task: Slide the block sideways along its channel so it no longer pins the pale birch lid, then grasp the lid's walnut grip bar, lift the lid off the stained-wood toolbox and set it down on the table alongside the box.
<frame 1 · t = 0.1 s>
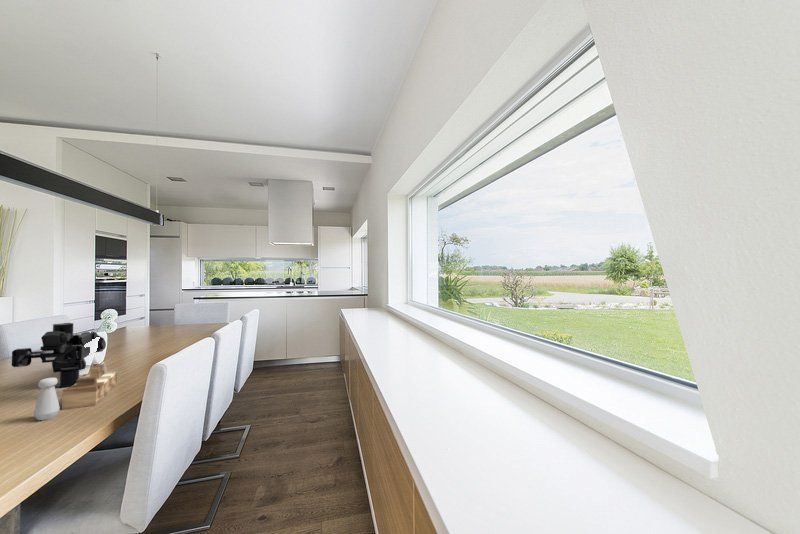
hand: (36, 361, 112), 17 cm above the table, tool horizontal, fingers open, 9 cm apart
block: (86, 381, 119), point 7 cm above the table, slide at 0.0 cm
salt shaker: (46, 418, 106), on the table
toolbox: (91, 396, 123), on the table
lid: (96, 380, 127), point 5 cm above the table, touching toolbox
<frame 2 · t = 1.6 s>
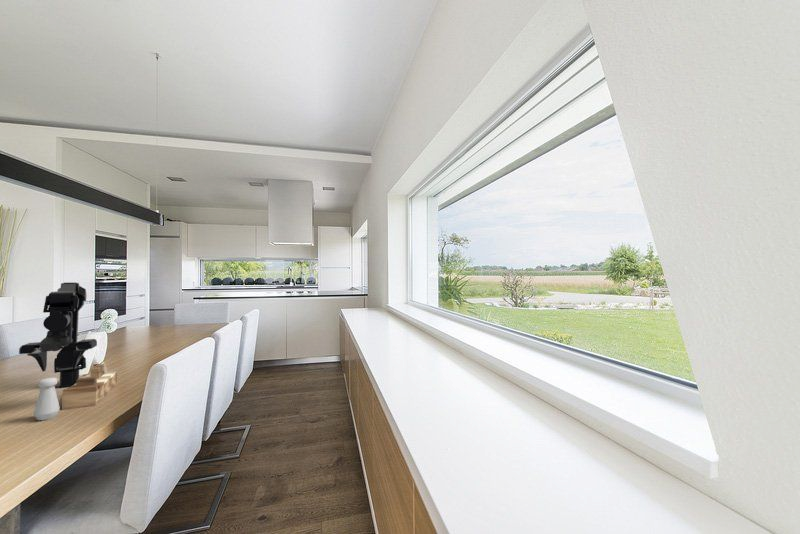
hand: (59, 369, 115), 13 cm above the table, tool pointing down, fingers open, 8 cm apart
nothing on the table moved.
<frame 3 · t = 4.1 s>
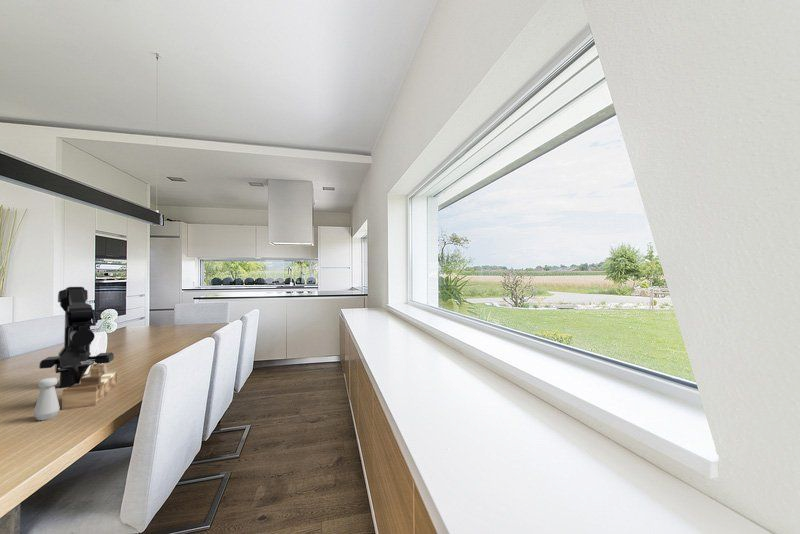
hand: (77, 383, 118), 7 cm above the table, tool pointing down, fingers closed
block: (90, 381, 119), point 7 cm above the table, slide at 1.2 cm, touching gripper
everything else where it was.
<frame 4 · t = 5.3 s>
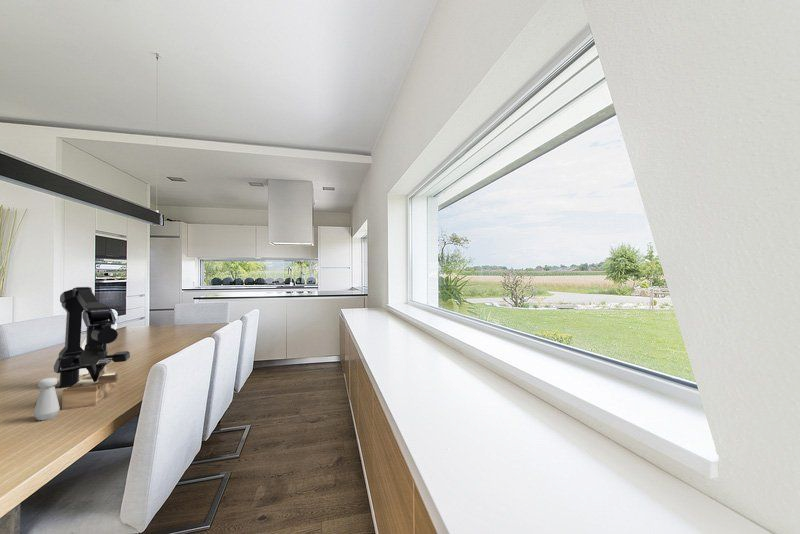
hand: (95, 381, 120), 7 cm above the table, tool pointing down, fingers closed
block: (108, 379, 122), point 7 cm above the table, slide at 6.1 cm, touching gripper
everything else where it was.
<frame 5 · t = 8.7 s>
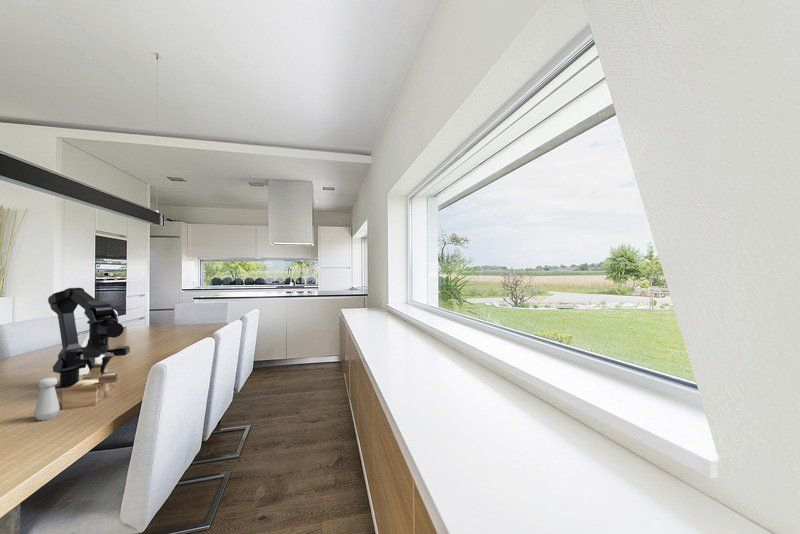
hand: (97, 373, 128), 7 cm above the table, tool pointing down, fingers closed on lid, 2 cm apart
block: (108, 379, 122), point 7 cm above the table, slide at 6.2 cm
lid: (96, 380, 127), point 5 cm above the table, touching gripper, toolbox
everything else where it was.
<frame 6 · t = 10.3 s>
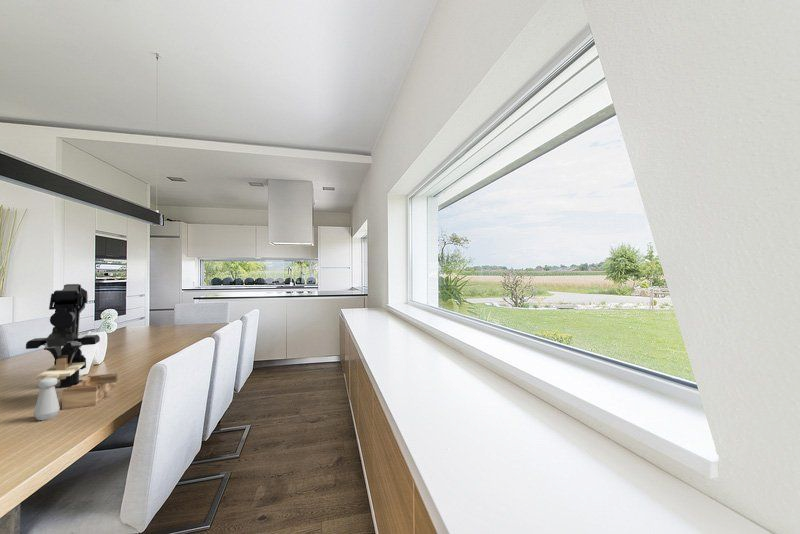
hand: (64, 364, 121), 13 cm above the table, tool pointing down, fingers closed on lid, 2 cm apart
lid: (62, 371, 120), point 11 cm above the table, touching gripper
everything else where it was.
when the fingers open (4 cm above the table, at t = 12.4 s): lid stays where it is, point 1 cm above the table.
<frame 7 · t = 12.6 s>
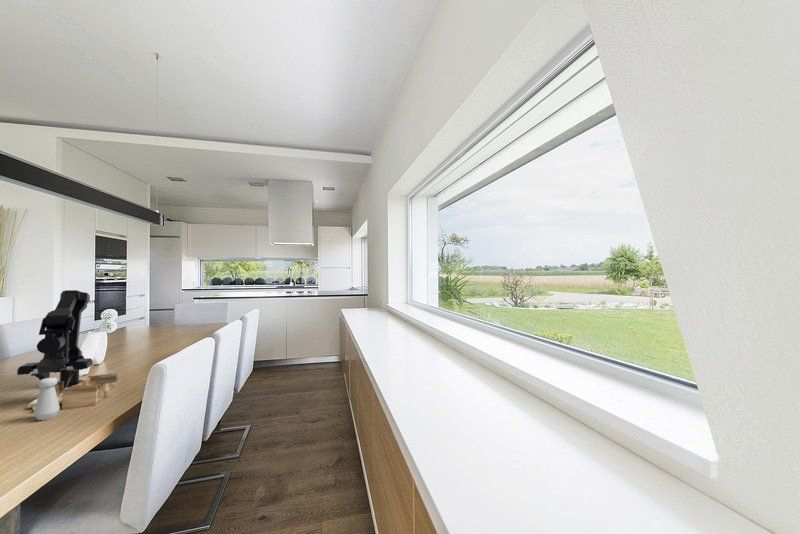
hand: (56, 389, 120), 4 cm above the table, tool pointing down, fingers open, 5 cm apart
lid: (54, 398, 118), point 1 cm above the table
everything else where it was.
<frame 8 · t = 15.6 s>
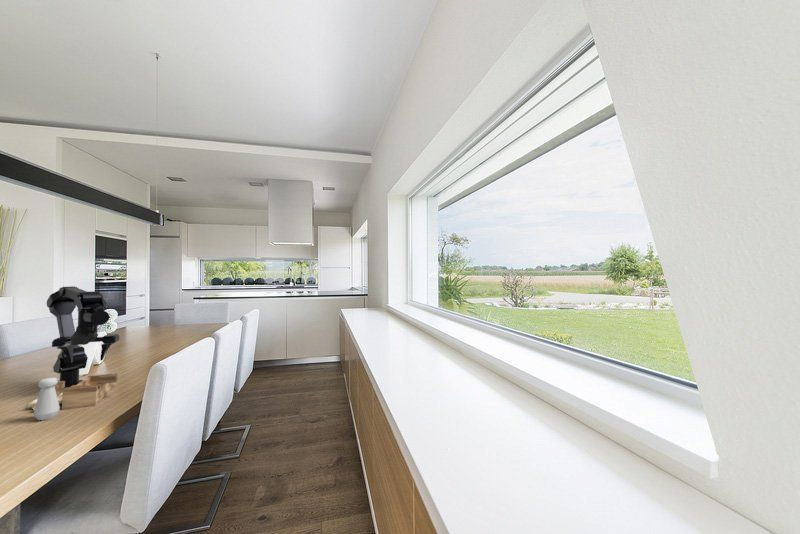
hand: (86, 361, 128), 12 cm above the table, tool pointing down, fingers open, 9 cm apart
nothing on the table moved.
at the end: lid inside the target area (0.3 cm from its centre), point 0.9 cm above the table; block slide at 6.2 cm; lid tilted 0° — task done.
